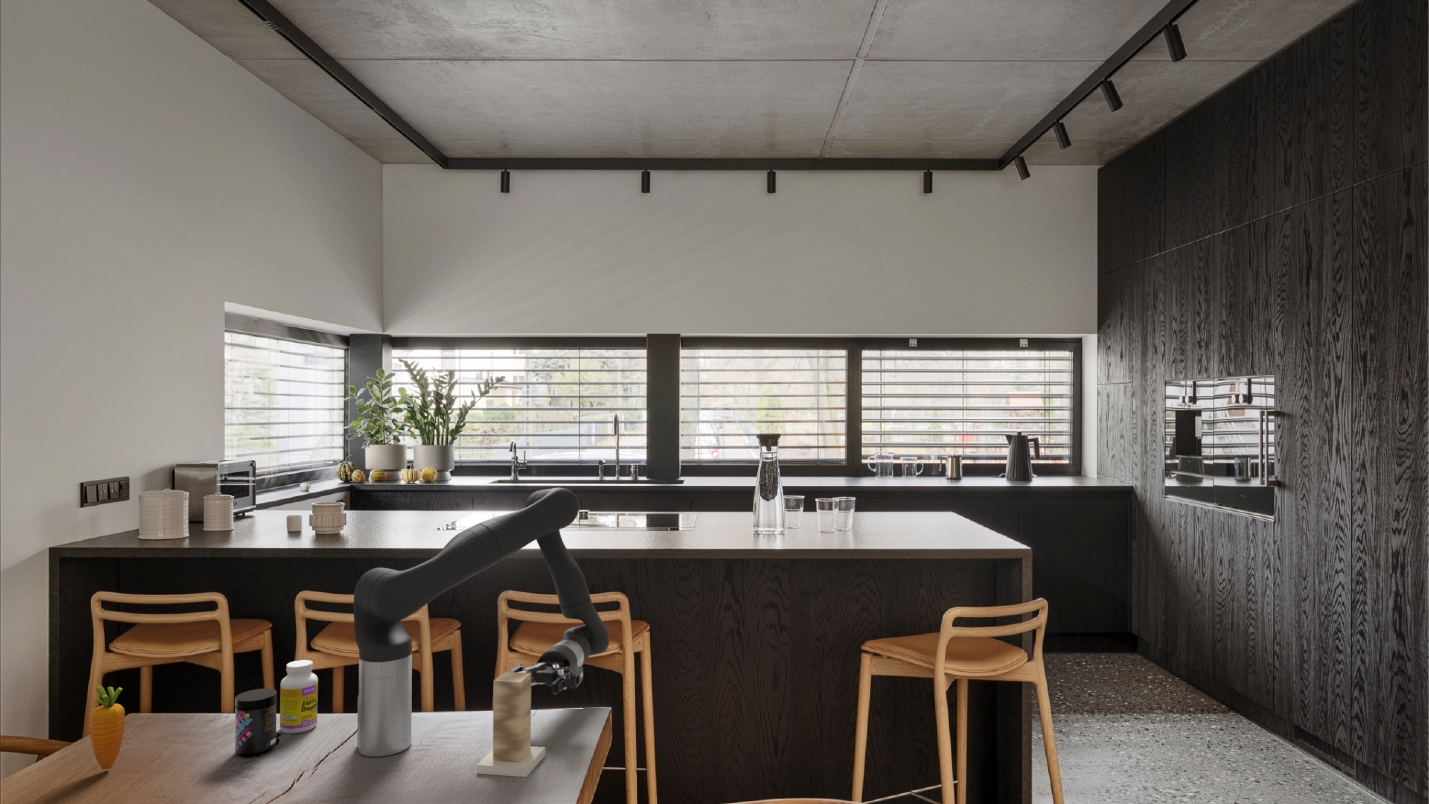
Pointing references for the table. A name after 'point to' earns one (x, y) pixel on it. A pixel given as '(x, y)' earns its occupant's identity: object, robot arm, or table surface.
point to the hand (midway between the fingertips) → (531, 688)
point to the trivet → (511, 764)
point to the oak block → (511, 716)
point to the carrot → (107, 727)
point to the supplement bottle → (298, 698)
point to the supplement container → (255, 722)
